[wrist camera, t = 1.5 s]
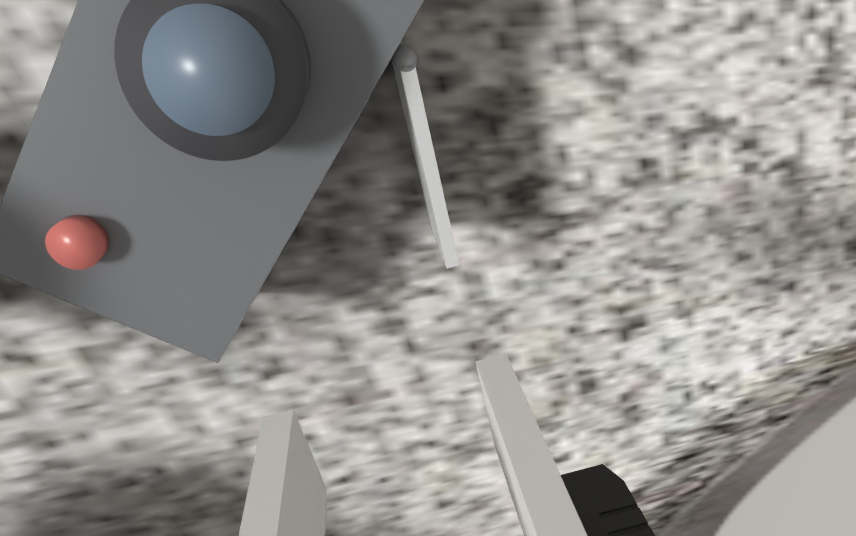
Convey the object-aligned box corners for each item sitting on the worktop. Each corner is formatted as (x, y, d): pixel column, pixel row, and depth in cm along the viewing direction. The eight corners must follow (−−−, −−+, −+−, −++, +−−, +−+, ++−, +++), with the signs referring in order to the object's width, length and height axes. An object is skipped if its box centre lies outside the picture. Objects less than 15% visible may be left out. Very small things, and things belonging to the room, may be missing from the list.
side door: (444, 222, 32) (462, 264, 27) (428, 226, 32) (443, 269, 27) (402, 36, 28) (414, 44, 22) (383, 41, 28) (391, 50, 22)
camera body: (246, 294, 33) (208, 406, 24) (56, 208, 29) (-71, 300, 20) (414, -6, 27) (447, -7, 18) (205, -151, 24) (121, -240, 15)
